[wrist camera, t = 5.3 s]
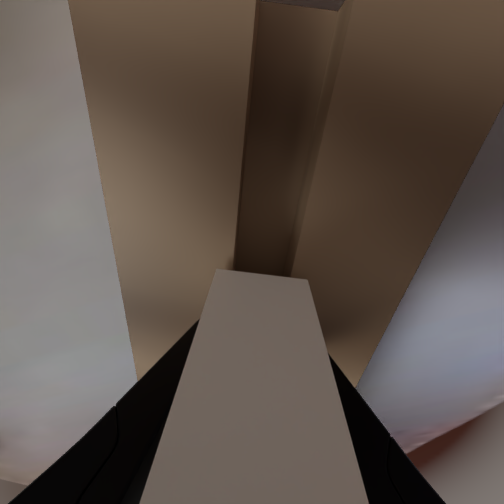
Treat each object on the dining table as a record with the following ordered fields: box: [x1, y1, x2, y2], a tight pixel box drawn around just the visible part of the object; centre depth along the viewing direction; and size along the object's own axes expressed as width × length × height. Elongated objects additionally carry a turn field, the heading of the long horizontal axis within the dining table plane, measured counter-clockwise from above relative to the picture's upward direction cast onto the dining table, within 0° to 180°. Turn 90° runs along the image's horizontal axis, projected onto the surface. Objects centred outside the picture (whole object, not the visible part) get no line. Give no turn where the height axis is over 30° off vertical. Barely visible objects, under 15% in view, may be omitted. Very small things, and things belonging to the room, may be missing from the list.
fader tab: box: [139, 269, 369, 504], centre depth 7 cm, size 4×3×8 cm
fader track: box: [68, 0, 504, 387], centre depth 11 cm, size 21×10×3 cm, turn 174°
